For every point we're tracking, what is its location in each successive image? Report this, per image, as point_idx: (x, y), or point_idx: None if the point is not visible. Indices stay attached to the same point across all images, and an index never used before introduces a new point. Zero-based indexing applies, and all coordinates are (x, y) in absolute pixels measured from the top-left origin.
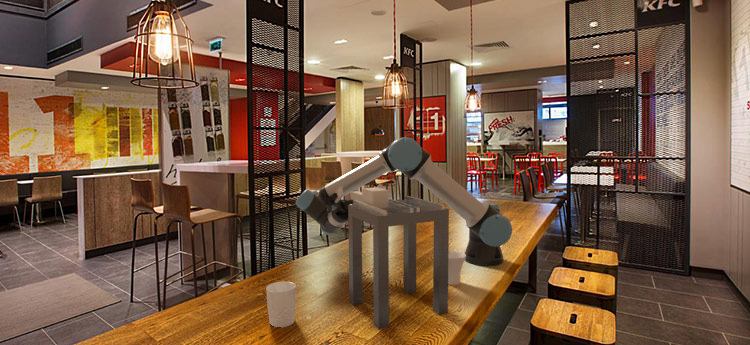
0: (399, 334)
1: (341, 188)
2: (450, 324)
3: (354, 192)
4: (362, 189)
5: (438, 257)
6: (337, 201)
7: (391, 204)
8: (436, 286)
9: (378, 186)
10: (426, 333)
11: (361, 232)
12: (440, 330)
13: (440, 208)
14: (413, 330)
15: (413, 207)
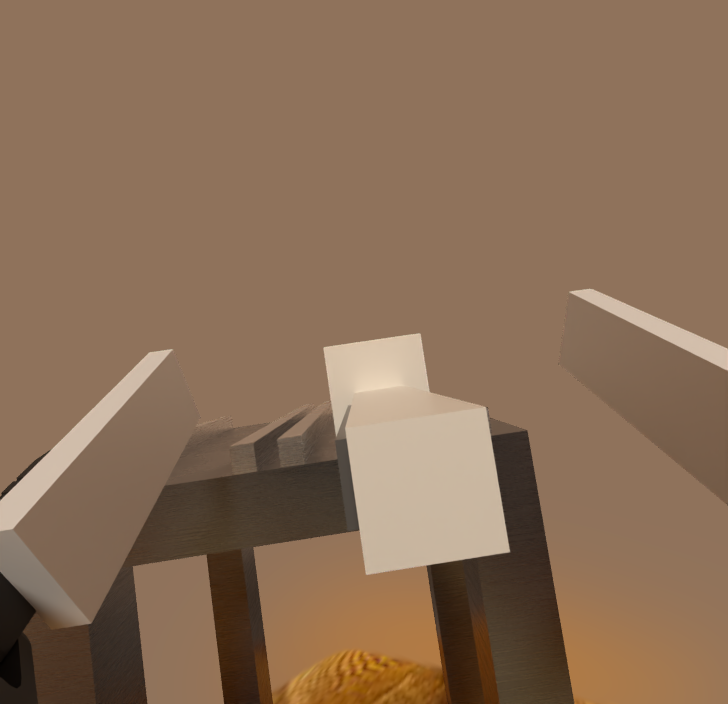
0: (434, 683)
1: (574, 308)
2: (296, 695)
3: (438, 400)
4: (420, 339)
5: (254, 573)
6: (709, 478)
7: (324, 419)
8: (264, 678)
9: (162, 376)
10: (373, 673)
11: (469, 595)
12: (337, 676)
13: (230, 426)
14: (394, 692)
15: (311, 406)
